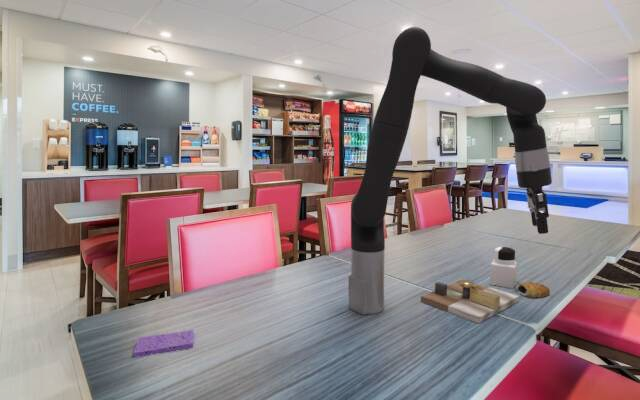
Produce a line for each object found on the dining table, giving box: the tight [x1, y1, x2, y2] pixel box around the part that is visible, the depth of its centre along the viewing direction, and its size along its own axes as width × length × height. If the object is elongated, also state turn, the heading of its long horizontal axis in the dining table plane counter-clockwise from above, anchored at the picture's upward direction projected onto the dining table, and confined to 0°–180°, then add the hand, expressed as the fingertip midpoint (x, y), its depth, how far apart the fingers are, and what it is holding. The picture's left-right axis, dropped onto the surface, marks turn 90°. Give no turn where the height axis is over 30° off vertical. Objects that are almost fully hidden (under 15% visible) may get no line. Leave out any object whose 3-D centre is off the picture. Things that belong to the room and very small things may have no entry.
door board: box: [420, 280, 520, 324], centre depth 108 cm, size 22×18×5 cm
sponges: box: [133, 329, 195, 357], centre depth 86 cm, size 7×13×2 cm, turn 107°
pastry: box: [514, 281, 551, 299], centre depth 114 cm, size 9×7×4 cm
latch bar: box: [459, 279, 500, 308], centre depth 104 cm, size 11×4×4 cm, turn 38°
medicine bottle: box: [489, 246, 518, 289], centre depth 122 cm, size 7×7×12 cm
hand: (540, 229), depth 96 cm, fingers open, 8 cm apart
